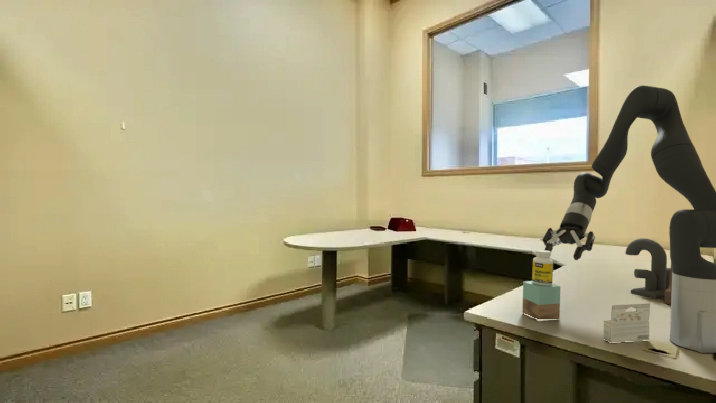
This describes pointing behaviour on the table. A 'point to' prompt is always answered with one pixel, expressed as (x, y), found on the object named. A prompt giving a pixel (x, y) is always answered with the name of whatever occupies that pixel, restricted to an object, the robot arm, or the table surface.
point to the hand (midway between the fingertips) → (560, 256)
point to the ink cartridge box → (628, 323)
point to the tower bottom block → (541, 310)
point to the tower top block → (541, 293)
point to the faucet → (659, 273)
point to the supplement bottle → (542, 268)
